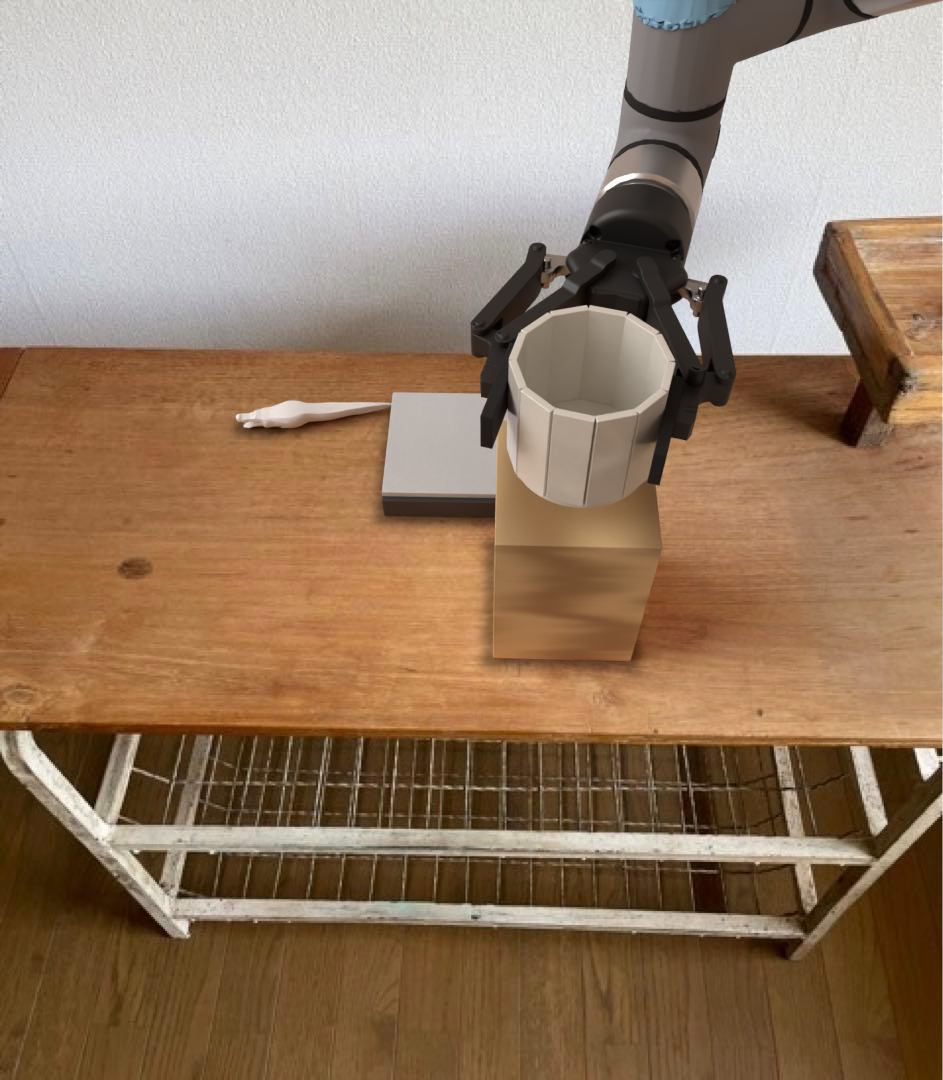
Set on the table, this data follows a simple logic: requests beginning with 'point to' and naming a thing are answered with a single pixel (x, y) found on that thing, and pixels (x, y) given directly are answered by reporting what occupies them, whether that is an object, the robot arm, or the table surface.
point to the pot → (586, 404)
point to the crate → (570, 571)
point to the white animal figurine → (305, 413)
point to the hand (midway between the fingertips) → (570, 451)
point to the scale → (438, 457)
